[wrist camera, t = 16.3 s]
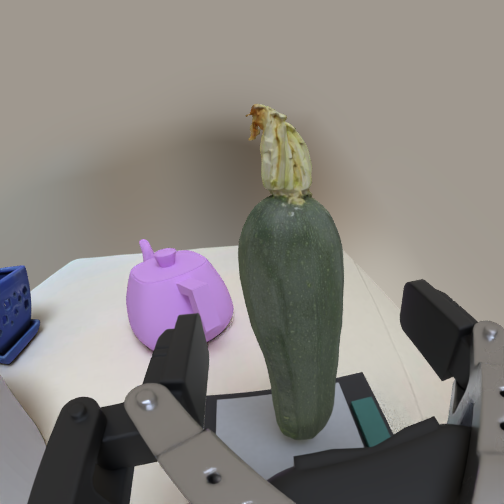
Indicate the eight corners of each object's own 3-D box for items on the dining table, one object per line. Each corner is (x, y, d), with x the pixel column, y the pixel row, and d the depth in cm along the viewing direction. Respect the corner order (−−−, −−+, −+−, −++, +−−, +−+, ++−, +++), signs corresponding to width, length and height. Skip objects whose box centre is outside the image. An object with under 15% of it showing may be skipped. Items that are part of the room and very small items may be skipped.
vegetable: (342, 448, 16) (359, 91, 9) (284, 477, 14) (244, 86, 7) (309, 409, 20) (295, 106, 13) (256, 432, 18) (205, 111, 11)
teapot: (190, 287, 50) (178, 224, 46) (266, 336, 35) (256, 250, 31) (119, 315, 43) (99, 249, 39) (167, 388, 27) (134, 297, 24)
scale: (359, 389, 24) (363, 363, 23) (408, 501, 12) (424, 484, 11) (211, 412, 24) (203, 387, 23) (207, 538, 12) (193, 528, 11)
